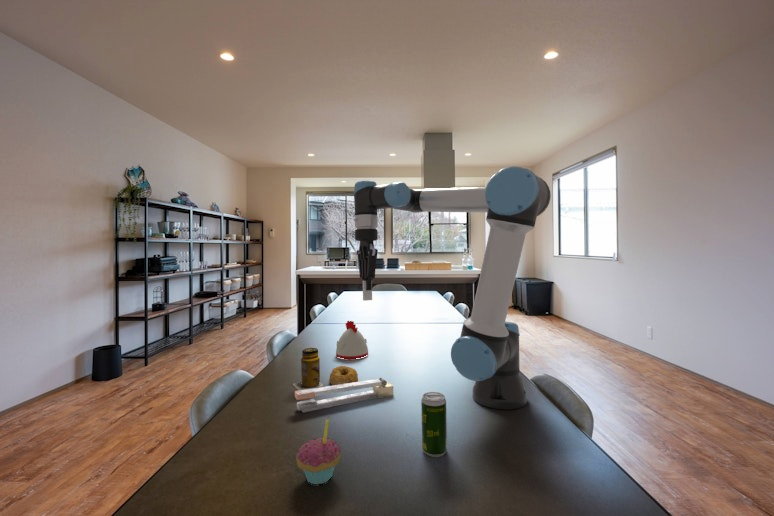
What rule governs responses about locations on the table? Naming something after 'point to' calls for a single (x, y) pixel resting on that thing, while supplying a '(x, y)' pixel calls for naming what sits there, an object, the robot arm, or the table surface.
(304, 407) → the base
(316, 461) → the cupcake
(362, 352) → the kitchen timer
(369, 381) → the bar
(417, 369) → the table surface
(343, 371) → the bagel
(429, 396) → the beer can
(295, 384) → the condiment
